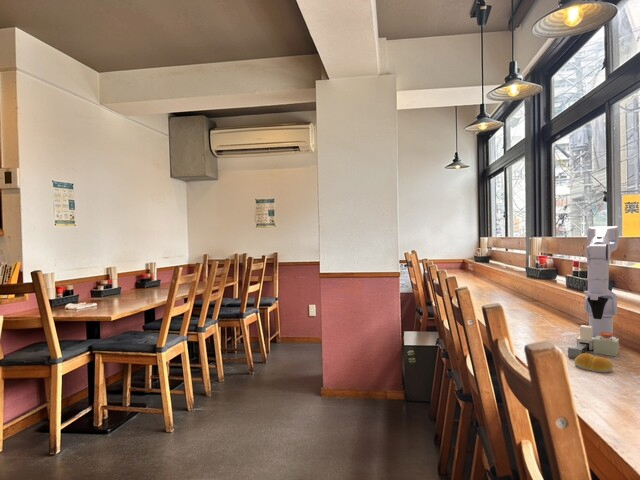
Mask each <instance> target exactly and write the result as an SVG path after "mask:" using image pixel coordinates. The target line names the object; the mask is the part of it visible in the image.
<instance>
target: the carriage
mask: <svg viewBox="0 0 640 480" xmlns="http://www.w3.org/2000/svg"><path fill="white" fill-rule="evenodd" d="M581 342H584V343H589V349H588V351H592V350H593V351H594V337H592V326H589V325H584V324H581V325H580V327H579V336H578V337H577V338H576V347H577V346H578V345H579V344H580V343H581Z"/></svg>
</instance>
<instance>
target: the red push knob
mask: <svg viewBox="0 0 640 480" xmlns="http://www.w3.org/2000/svg"><path fill="white" fill-rule="evenodd" d="M600 335H601V336H602V339H604V340H611V337H614V335H613V334H612V333H609V332H600Z"/></svg>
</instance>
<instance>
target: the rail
mask: <svg viewBox="0 0 640 480" xmlns="http://www.w3.org/2000/svg"><path fill="white" fill-rule="evenodd" d="M592 337H594V338H595V336H592ZM587 351H589V343H584V342H581V343H580V344H579V345H578V346H577V345H576V347H570V346H568V348H567V358H571V359H575V358H576V357H578V356H579V355H580V354H583V353H587Z"/></svg>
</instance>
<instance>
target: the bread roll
mask: <svg viewBox="0 0 640 480" xmlns="http://www.w3.org/2000/svg"><path fill="white" fill-rule="evenodd" d="M573 363H574V365H575V366H576V367H577V368H579V369H582V370H585V371H586V370H587V371H591V372H596V373H611V372H612V371H613V370H614V365H613V363H612V361H611V360H610V359H608V358H606V357H604V356H603V357H602V356H594V355H593V354H590V353H587V352H585V353H583V354H580V355H579V356H578V357H576V358H574V362H573Z"/></svg>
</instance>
